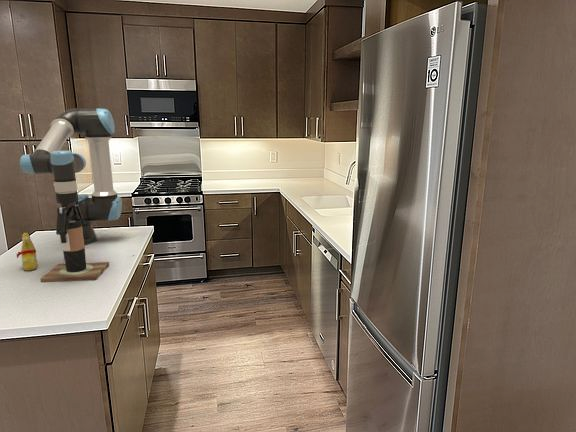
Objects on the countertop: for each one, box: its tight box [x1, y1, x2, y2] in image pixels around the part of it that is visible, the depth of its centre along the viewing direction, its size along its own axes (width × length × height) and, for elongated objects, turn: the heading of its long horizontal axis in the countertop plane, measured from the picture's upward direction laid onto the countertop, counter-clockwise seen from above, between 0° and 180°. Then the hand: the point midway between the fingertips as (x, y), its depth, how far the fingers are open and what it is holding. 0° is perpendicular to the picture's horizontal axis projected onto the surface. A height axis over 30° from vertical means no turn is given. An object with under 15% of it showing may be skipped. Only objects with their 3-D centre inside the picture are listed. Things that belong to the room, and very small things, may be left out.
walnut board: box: [40, 261, 110, 283], centre depth 163 cm, size 16×20×2 cm
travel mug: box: [62, 218, 87, 272], centre depth 160 cm, size 8×8×20 cm
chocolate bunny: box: [16, 232, 38, 272], centre depth 168 cm, size 7×11×15 cm, turn 29°
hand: (73, 245), depth 160 cm, fingers open, 13 cm apart
